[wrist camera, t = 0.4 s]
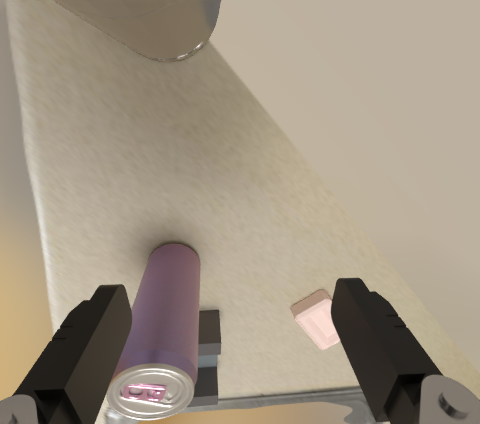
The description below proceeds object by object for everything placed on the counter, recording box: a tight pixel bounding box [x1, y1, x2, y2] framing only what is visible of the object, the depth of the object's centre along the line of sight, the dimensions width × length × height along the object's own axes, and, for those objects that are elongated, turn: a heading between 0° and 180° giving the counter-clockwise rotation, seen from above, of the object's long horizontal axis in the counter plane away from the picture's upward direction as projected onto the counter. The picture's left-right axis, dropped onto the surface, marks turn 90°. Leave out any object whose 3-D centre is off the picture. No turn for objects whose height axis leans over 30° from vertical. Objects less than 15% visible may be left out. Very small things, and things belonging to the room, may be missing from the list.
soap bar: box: [291, 290, 340, 350], centre depth 37 cm, size 5×9×2 cm, turn 34°
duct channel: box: [187, 310, 221, 407], centre depth 34 cm, size 12×12×5 cm
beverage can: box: [107, 244, 200, 420], centre depth 24 cm, size 6×6×15 cm
